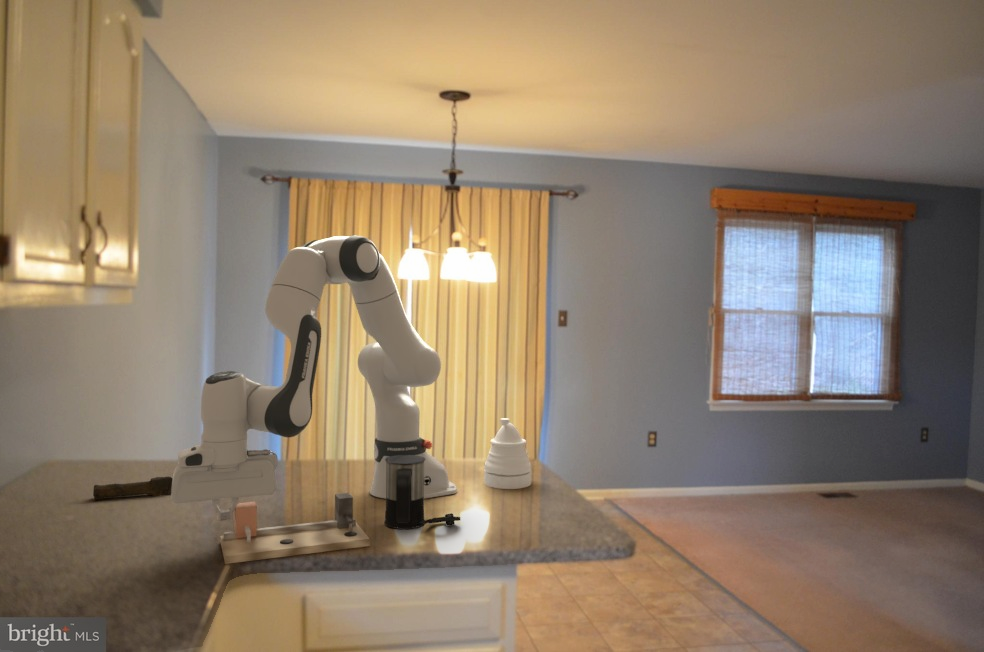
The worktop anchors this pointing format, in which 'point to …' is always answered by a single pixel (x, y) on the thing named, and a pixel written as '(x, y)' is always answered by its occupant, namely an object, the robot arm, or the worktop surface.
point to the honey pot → (507, 459)
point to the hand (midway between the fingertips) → (225, 519)
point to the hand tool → (134, 488)
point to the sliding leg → (245, 520)
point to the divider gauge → (298, 537)
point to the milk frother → (407, 493)
